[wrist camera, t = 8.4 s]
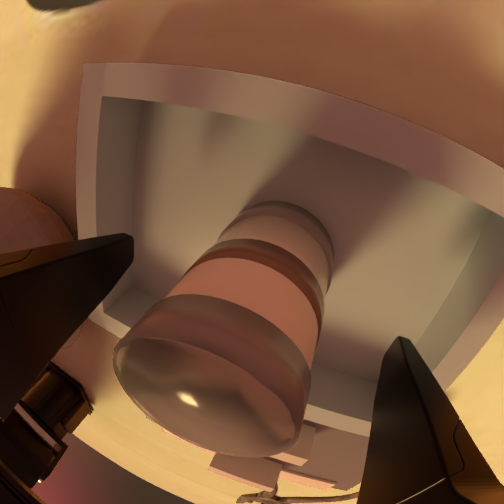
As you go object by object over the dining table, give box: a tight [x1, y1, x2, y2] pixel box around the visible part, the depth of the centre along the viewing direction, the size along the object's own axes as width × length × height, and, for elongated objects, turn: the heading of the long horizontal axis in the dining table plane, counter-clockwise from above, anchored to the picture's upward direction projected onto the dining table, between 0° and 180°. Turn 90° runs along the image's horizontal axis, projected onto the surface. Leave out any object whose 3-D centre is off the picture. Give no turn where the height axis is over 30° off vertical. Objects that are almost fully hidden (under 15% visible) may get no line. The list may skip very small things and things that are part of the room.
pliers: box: [236, 486, 359, 504], centre depth 24 cm, size 10×1×20 cm
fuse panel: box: [146, 415, 369, 492], centre depth 16 cm, size 16×9×4 cm, turn 78°
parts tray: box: [76, 62, 504, 437], centre depth 11 cm, size 16×12×3 cm
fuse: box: [113, 201, 334, 458], centre depth 9 cm, size 4×4×7 cm
